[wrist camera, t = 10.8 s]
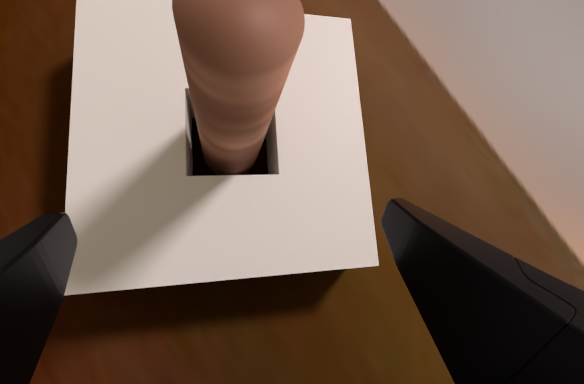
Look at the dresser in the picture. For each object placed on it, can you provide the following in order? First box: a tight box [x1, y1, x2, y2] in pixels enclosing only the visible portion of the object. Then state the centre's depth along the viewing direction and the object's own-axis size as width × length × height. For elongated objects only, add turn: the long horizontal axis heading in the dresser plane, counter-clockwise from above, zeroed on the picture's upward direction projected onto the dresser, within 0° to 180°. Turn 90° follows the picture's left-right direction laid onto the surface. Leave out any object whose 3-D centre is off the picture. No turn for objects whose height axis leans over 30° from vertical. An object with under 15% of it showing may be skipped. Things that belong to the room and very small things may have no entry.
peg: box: [172, 0, 305, 175], centre depth 15 cm, size 4×4×13 cm
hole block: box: [64, 0, 379, 296], centre depth 19 cm, size 16×16×4 cm
